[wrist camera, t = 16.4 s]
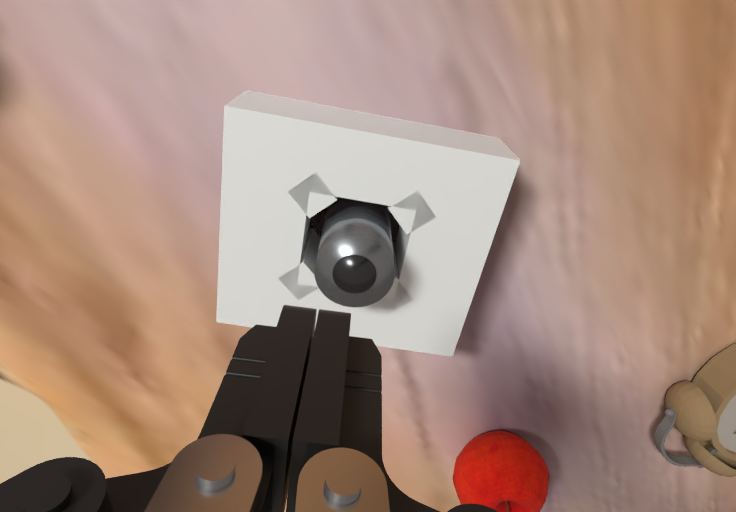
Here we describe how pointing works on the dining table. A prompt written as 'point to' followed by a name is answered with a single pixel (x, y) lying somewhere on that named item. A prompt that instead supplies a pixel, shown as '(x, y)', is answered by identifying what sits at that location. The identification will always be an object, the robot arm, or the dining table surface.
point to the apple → (501, 473)
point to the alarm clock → (704, 416)
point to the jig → (363, 183)
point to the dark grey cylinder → (355, 253)
